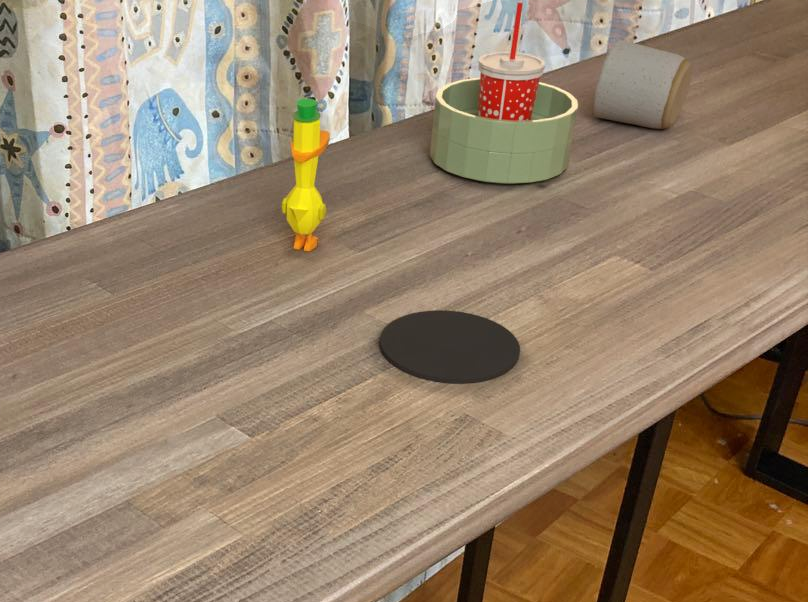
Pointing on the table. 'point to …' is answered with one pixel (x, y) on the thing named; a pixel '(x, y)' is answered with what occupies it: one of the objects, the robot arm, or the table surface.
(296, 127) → the toy figure
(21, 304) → the table surface
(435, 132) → the bowl
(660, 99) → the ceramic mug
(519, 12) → the beverage cup
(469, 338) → the coaster
